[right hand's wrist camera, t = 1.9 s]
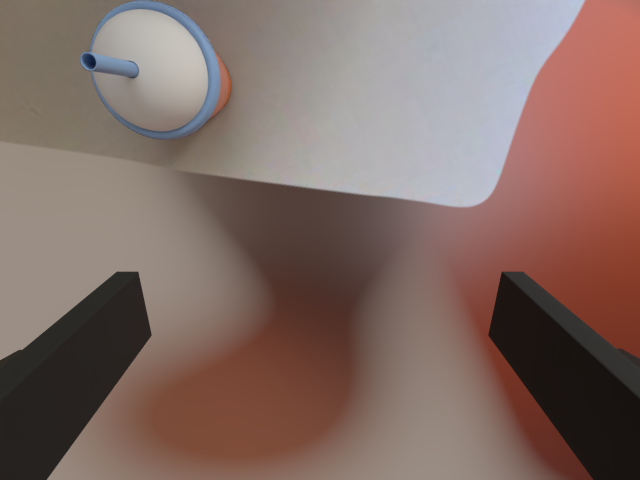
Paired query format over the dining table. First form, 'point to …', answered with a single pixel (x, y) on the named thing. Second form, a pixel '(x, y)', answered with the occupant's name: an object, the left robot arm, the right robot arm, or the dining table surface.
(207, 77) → the cup with straw
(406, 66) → the dining table surface
